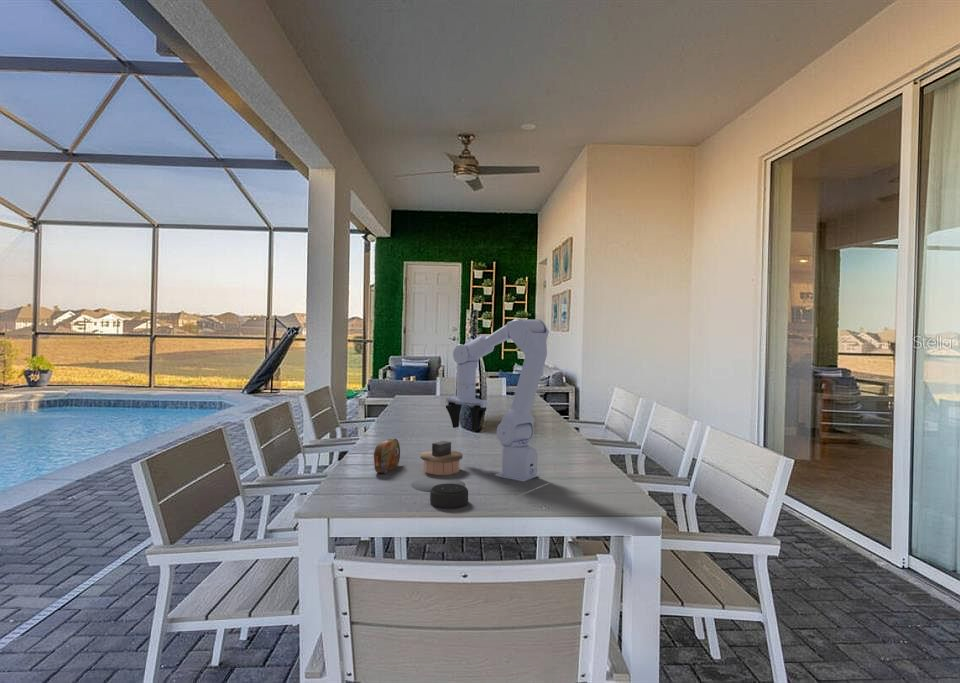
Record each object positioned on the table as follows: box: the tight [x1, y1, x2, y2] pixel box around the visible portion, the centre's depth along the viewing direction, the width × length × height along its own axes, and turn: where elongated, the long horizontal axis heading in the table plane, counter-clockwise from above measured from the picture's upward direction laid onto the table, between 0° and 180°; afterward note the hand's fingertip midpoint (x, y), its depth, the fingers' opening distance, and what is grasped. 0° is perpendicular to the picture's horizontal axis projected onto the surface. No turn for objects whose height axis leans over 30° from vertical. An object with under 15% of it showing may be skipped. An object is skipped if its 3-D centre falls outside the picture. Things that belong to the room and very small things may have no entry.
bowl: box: [423, 460, 461, 476], centre depth 163 cm, size 10×10×4 cm
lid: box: [419, 440, 463, 462], centre depth 163 cm, size 12×12×4 cm
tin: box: [373, 438, 401, 474], centre depth 164 cm, size 15×3×8 cm, turn 168°
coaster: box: [410, 476, 466, 493], centre depth 148 cm, size 14×14×1 cm
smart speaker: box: [429, 484, 469, 510], centre depth 133 cm, size 9×9×4 cm
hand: (465, 428), depth 173 cm, fingers open, 7 cm apart
